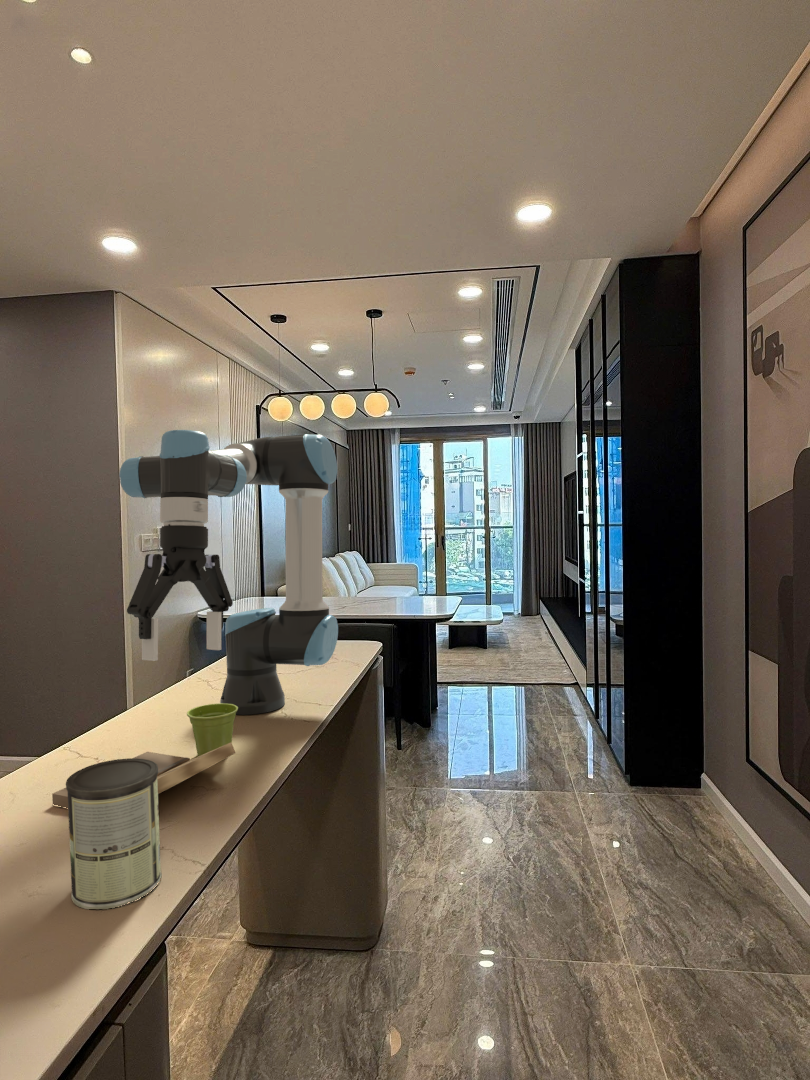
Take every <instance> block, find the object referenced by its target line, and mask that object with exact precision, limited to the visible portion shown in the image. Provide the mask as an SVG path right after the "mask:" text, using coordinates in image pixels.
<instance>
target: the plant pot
mask: <svg viewBox="0 0 810 1080" xmlns="http://www.w3.org/2000/svg"><path fill="white" fill-rule="evenodd" d="M237 710H238V707H237V706H236V705H233V704H223V703H220V702H219V703H209V704H203V705H199V706H196V707H193V708H191V709H189V710H188V711H187V712H186V716H187V717H188V718H189V722H190V724H191V727H192V731H193V736H194V737H193V738H194V742H195V748H196V754H197V757H198V756H201V755H203V754H205V753H208V752H210V751H212V750H215V749H217V748H219V747H221V746H224V745H226V744H228V743H231V742H232V743H233V733H234V732H233V731H234V723H235V718H236V715H237V714H236V712H237Z"/></svg>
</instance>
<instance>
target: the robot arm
mask: <svg viewBox="0 0 810 1080" xmlns="http://www.w3.org/2000/svg"><path fill="white" fill-rule="evenodd" d="M160 442H161V443H160V453H159V455H155V456H142V455H141V456H138V457H130V458H127V459H126V460H124V461H123V462H122V464H121V466H120V469H119V480H120V481H119V482H120V486H121V488H122V490H123V492H124V493H125V494H127V495H128V496H130V497H132V498H143V499H147V498H160V500H159V501H160V503H159V504H160V505H159V510H160V511H159V522H160V523H162V524H163V525H162V526H161V528H159V547H160V548H161V549H162V554H160V553H153V554H152V553H149V554H148V553H147V554H146V555H145V556H144V566H143V570H142V572H141V575H140V577H139V579H138V583H137V585H136V586H135V589H134V591H133V594H132V597H131V599H130V601H129V603H128V606H127V608H126V612H127V614H128V615H132V616H133V617H134V618H138V638H139V640H141V660H142V661H152V662H155V661H158V660H159V618H158V617H154V616H155V614H156V613H157V611H158V610H159V609H160V607H161V605H162V604H163V602H164V601H165V599H166V597H167V596H168V594H169V593H170V591H171V590H172V588H173V586H175V585H177V584H178V582H179V583H181V582H182V583H183V582H184V583H185V582H190V583H191V584H193V585H194V586H195V588H196V589H197V591H198V592H199V594H200V595H201V597H202V599H203V600H204V602H205V603H206V605H207V606H208V607H209V609H210V611H206V650H210V651H211V650H212V651H220V650H221V651H222V630H223V628H224V612H228V611H229V607H230V608H231V607H233V604H234V603H233V599H232V596H231V594H230V591H229V587H228V585H227V583H226V582H227V581H226V580H225V576H224V575H223V571H222V569H221V560H220V556H219V554H205V550H206V549H207V548H208V546H209V528H207V527H208V526H205V524H207V523H209V496H215V497H218V498H231V497H234V496H237V495H239V494H240V493H241V492H242V491H243V490H244V488H245V486H246V485H256V486H257V485H261V486H278V493H279V494H280V495H281V496H282V497H283V498H284V499H285V500H284V501H285V601H284V602H283V603H282V605H280V606H279V611H278V614H276V610H275V608H273V607H265V608H257V609H256V608H255V609H251V610H250V609H249V610H245V611H241V612H235V613H232V614H230V615H228V617H227V618H226V620H225V633H224V636H225V650H226V651H225V653H226V655H225V656H226V678H225V682H224V685H223V689H222V691H221V692H222V694H221V696H220V700H219V703H223V704H233V705H236V706H237V707H238V710H237V712H236V715H240V716H244V715H245V716H246V715H247V716H248V715H260V714H266V713H269V712H273V711H276V710H279V709H281V708H282V707H284V706H285V704H286V702H285V700H286V698H285V692H284V691H283V686H282V684H281V680H280V678H279V675H278V671H277V665H289V666H290V665H294V666H295V665H297V666H306V667H311V666H323V665H325V664H327V662H329V661H330V660H331V658H332V657H333V655H334V652H335V650H336V647H337V643H338V636H339V624H338V620H337V617H335V616H334V615H333V614H330V608H329V605H328V604H327V603H326V602H325V601H324V599H323V499H324V497H325V496H326V495H327V494H328V493H329V485H331V484H333V483H335V482H336V480H337V476H338V462H337V457H336V452H335V450H334V448H333V445H332V443H331V442H330V440H329V439H328V438H327V437H326V436H324V435H322V434H308V433H305V434H293V435H292V434H291V435H280V436H264V437H259V438H258V437H257V438H253V439H250V440H246V441H242V442H237V443H236V442H235V443H231V444H228V445H227V446H226V445H225V447H224V448H223V449H222V448H221V449H212V450H210V448H211V447H210V445H209V437H208V436H207V434H206V433H205V432H202V431H199V430H191V429H172V430H168V431H165V432H164V433H163V434H162V435H161V441H160ZM162 567H163V570H162ZM161 570H162V571H161Z"/></svg>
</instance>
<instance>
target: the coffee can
mask: <svg viewBox="0 0 810 1080" xmlns="http://www.w3.org/2000/svg"><path fill="white" fill-rule="evenodd" d="M132 758H133V759H132ZM132 758H130V757H129V758H118V759H113V760H107V761H103V762H98V763H94V764H91V765H88V766H86V767H83V768H81V769H79V770H77V771H75V772H74V773H73V774H71V775H69V777H68V778H67V779H66V781H65V788H66V789H67V791H68V809H67V810H68V812H67V813H68V830H69V832H68V833H69V855H70V856H69V857H70V879H71V880H70V881H71V885H70V886H71V894H70V895H71V901H72V902H73V904H74V905H76V906H77V907H79V908H81V909H84V910H89V909H107V910H109V909H108V908H112V909H116V908H115V907H118V906H121V905H124V904H127V903H128V902H132V901H135V900H137V899H139V898H140V897H142V896H144V895H146V894H147V893H149V892H150V891H151V890H153V888H154V887H155V886H156V885H157V883H158V882H159V881H160V878H161V879H162V877H161V876H162V872H161V871H162V869H161V845H160V841H161V840H160V820H159V819H160V817H159V814H160V813H159V794H158V785H157V775H158V765H157V764H156V763H155V762H153V761H150V760H145V759H134V757H132ZM160 882H161V881H160ZM153 891H154V890H153ZM149 894H150V893H149ZM146 896H147V895H146ZM139 900H140V899H139ZM137 901H138V900H137ZM135 902H136V901H135ZM121 907H122V906H121ZM118 908H119V907H118Z"/></svg>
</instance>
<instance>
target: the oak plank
mask: <svg viewBox="0 0 810 1080" xmlns="http://www.w3.org/2000/svg"><path fill="white" fill-rule="evenodd" d="M236 753H237V752H236V750H235V748H234V746H233V741H232V742H231V743H228V744H226V745H224V746H221V747H219V748H217V749H215V750H212V751H210V752H208V753H205V754H203V755H201V756H198V755H197V757H194V758H192V759H190V760H189V761H187V762H185V763H183V764H181V765H179V766H177V767H175V768H173V769H171V770H169V771H167V772H165V773H163V774H161V775H159V776H157V785H158V795H159V794H161V793H162V792H164V791H167V790H169V789H171V788H172V787H175V786H176V785H179V784H181V783H182V782H184V781H186V780H187V779H190V778H191V777H193V776H196V775H197V774H200V773H201V772H202V771H205V770H207V769H208V768H210V767H212V766H214V765H216V764H217V763H220V762H221V761H223V760H225V759H228V758H229V757H231V756H232V755H235V754H236Z"/></svg>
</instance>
